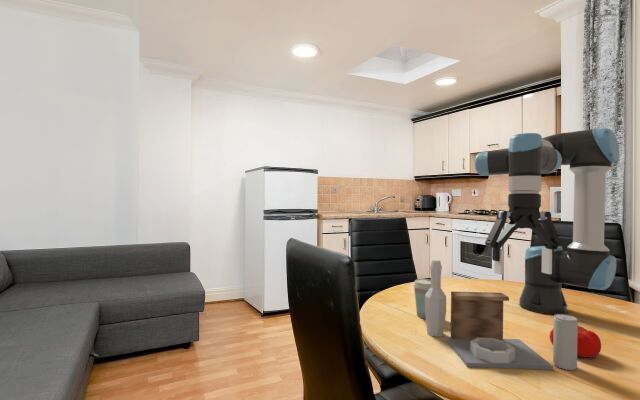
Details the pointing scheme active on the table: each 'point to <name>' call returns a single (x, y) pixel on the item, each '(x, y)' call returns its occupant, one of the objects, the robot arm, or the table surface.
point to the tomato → (585, 342)
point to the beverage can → (565, 341)
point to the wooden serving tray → (477, 315)
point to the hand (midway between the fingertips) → (522, 273)
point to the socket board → (498, 353)
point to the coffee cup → (421, 295)
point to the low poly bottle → (435, 302)
